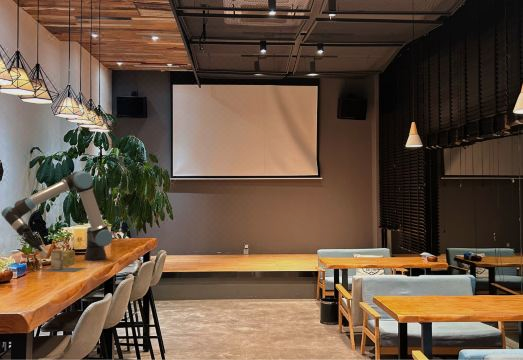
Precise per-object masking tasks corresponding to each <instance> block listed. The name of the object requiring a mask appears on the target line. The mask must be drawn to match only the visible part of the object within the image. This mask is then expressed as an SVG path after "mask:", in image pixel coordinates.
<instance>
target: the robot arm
mask: <svg viewBox="0 0 523 360" xmlns="http://www.w3.org/2000/svg"><path fill="white" fill-rule="evenodd" d="M93 182H94V179H93V176H92V175H91V173H90V172H88V171H84V170H80V171H75V172H72V173H71V174H69V175H68V176H66V177H63V178H62V179H61V181H58V182H56V183H55V184H52V185H50V186H48V187H45V188H44V189H42V190H40V191H37V192H36V193H34V194H31V195H29V196H27V197H25V198H22V199H20V200H17V201H15V203H14V204H13V205H14V206H13V207H12V206H10V205H9V206H7V207H5V208H3V209H2V211H1V212H0V213H1V216H2V217H3V219H4V220H5V221H6V222H7V223H8V224H9V225H10V226H11V228H12V229H13V230H14V231H16V233H17V234H18V235H19V236H20V237H21V239H22V240H23V241H25V242H26V243H27V244H28V245H29V246H30V247H32V248H33V249H34V250H37V251H38V252H39V253H40V254H41V255H42V257H45V256H46V255H48V251H47V250H46V249H45V248H44V247H43V246H42V245H43V243H42V241H41V239H40V238H39V237H38V235H37V233H33V232H32V231H31V227H30V226H29V224H28V223H27V222H26V221H25V220H24V219H23V218H22V217H23V216H25V215H27V214H28V213H29V212H31V211H33V210H34V209H35V208H36V207H37V206H38V205H40V204H42V203H45V202H46V201H49V200H50V199H52V198H53V199H54V198H55V197H57V196H59V195H61V194H63V193H65V192H71V191H72V190H75V192H76V194H78V195H80V199H81V202H82V204H83V207H84V211H85V213H86V216H87V218H88V222H89V224H90V227H87V229H86V250H85V254H84V260H86V261H102V260H106V259H107V253H106V250H105V247H107V246H109V245H110V244H111V243H112V241H113V233H112V232H111V230H109V227H108V225H107V224H106V223H104V220H103V217H102V214H101V211H100V208H99V206H98V202H97V199H96V197H95V194H94V191H93V190H94V189H95V188H94V185H93ZM35 237H36V238H35Z"/></svg>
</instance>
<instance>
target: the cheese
mask: <svg viewBox="0 0 523 360" xmlns="http://www.w3.org/2000/svg"><path fill="white" fill-rule="evenodd" d="M62 250H63V267H70V266H72V265H75V260H76V251H75V250H73V249H71V250H66V249H65V250H64V249H62Z"/></svg>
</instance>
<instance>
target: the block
mask: <svg viewBox="0 0 523 360" xmlns="http://www.w3.org/2000/svg"><path fill="white" fill-rule="evenodd" d="M63 250H64V249H51V250H50V269H51V270H61V269H63Z"/></svg>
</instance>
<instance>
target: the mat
mask: <svg viewBox="0 0 523 360" xmlns="http://www.w3.org/2000/svg"><path fill="white" fill-rule="evenodd" d="M86 269H87V267H68V266H66V267H63V269H61V270H51V268H48V269H44V270H41V272H45V273H49V272H50V273H53V272H54V273H77V272H80V271H83V270H86Z"/></svg>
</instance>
